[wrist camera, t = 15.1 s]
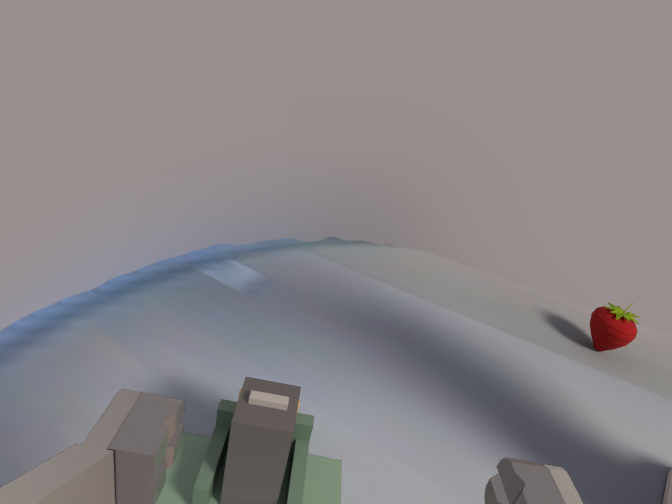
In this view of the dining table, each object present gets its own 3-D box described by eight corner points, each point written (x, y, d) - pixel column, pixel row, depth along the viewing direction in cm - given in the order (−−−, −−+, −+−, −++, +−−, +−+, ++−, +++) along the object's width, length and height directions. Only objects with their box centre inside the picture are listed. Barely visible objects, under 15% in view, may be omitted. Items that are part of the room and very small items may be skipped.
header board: (334, 615, 31) (360, 552, 27) (114, 582, 30) (111, 513, 26) (339, 466, 42) (358, 407, 38) (178, 438, 41) (181, 375, 37)
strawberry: (597, 337, 76) (626, 291, 71) (627, 366, 69) (660, 317, 65) (569, 334, 75) (596, 286, 70) (597, 363, 68) (628, 313, 64)
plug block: (274, 514, 35) (295, 426, 31) (219, 505, 35) (232, 415, 30) (282, 465, 39) (302, 381, 35) (233, 457, 39) (246, 371, 34)
